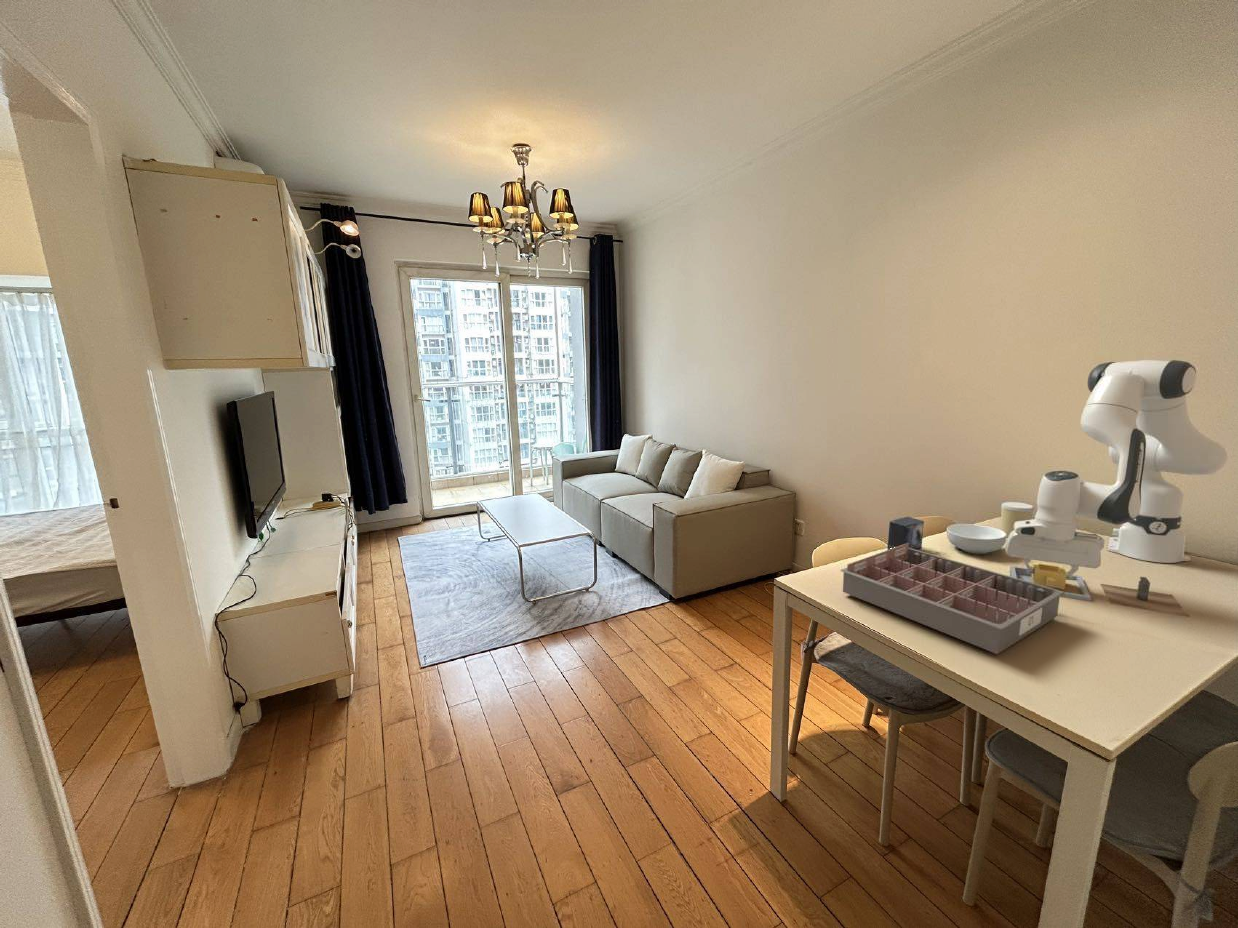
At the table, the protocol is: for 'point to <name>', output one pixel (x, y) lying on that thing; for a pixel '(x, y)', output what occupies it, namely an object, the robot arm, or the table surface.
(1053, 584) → the collar
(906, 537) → the small box
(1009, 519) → the coffee cup
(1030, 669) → the table surface
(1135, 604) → the board with post
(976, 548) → the cereal bowl
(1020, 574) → the tray
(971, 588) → the organizer tray
